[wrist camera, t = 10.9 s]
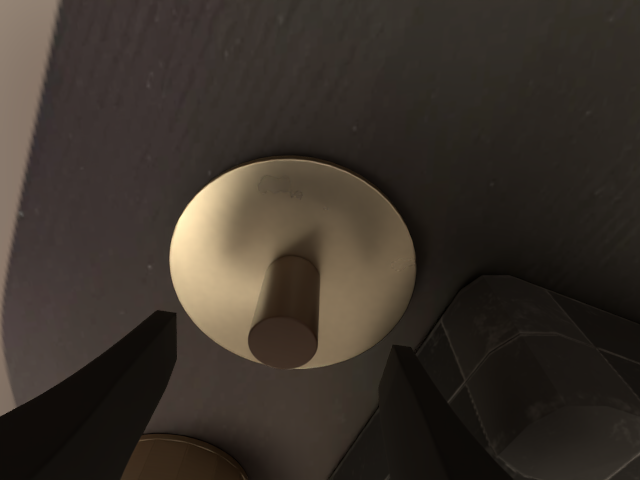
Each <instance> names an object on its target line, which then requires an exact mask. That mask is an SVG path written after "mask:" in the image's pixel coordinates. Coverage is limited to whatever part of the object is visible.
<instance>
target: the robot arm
mask: <svg viewBox="0 0 640 480" xmlns="http://www.w3.org/2000/svg"><path fill="white" fill-rule="evenodd" d="M176 360H177V329H176V313H173V312H166V311H160V310H157V311H156V312H154V313H153V314H152V315H150V316H149V317H148V318H147V319H146V320H144V321H143V322H142V323H141V324H140V325H138V326H137V327H136V328H135V329H133V330H132V331H131V332H130V333H128V334H127V335H126V336H125V337H124V338H122V339H121V340H120V341H118V342H117V343H116V344H114V345H113V346H112V347H111V348H109V349H108V350H107V351H105V352H104V353H103V354H101V355H100V356H99V357H97V358H96V359H94V360H93V361H92V362H90V363H89V364H87V365H86V366H85V367H83V368H82V369H80V370H79V371H77V372H76V373H74V374H73V375H71V376H70V377H68V378H67V379H65V380H64V381H62V382H61V383H59V384H57V385H56V386H54V387H53V388H51V389H49V390H48V391H46V392H44V393H43V394H41V395H39V396H38V397H36V398H34V399H32V400H30V401H29V402H27V403H25V404H23V405H21V406H19V407H17V408H15V409H13V410H12V411H10V412H8V413H6V414H4V415H2V416H0V480H121V477H122V475H123V472H124V470H125V468H126V466H127V463H128V461H129V459H130V457H131V455H132V453H133V451H134V449H135V447H136V445H137V443H138V441H139V440H140V438H141V436H142V434H143V432H144V430H145V428H146V426H147V424H148V422H149V420H150V418H151V416H152V415H153V413H154V411H155V409H156V407H157V405H158V403H159V401H160V399H161V397H162V395H163V393H164V391H165V389H166V387H167V384H168V381H169V379H170V376H171V374H172V371H173V368H174V365H175V363H176ZM379 411H380V422H381V428H382V434H383V440H384V446H385V452H386V458H387V464H388V470H389V476H390V480H514V479H513V478H512V477H511V476H510V475H509V474H508V473H507V472H506V471H505V470H504V469H503V468H502V467H501V466H500V465H499V464H498V463H497V462H496V461H495V460H494V459H493V458H492V457H491V455H490V454H489V453H488V452H487V451H486V450H485V449H484V448H483V446H482V445H481V444H480V443H479V442H478V441H477V440H476V439H475V437H474V436H473V435H472V434H471V433H470V431H469V430H468V429H467V428H466V426H465V425H464V424H463V423H462V421H461V420H460V419H459V417H458V416H457V415H456V414H455V412H454V411H453V409H452V408H451V407H450V405H449V404H448V403H447V401H446V400H445V398H444V397H443V395H442V394H441V393H440V391H439V390H438V388H437V387H436V385H435V384H434V382H433V381H432V379H431V378H430V376H429V375H428V373H427V372H426V370H425V368H424V367H423V365H422V364H421V362H420V361H419V359H418V358H417V356H416V354H415V353H414V351H413V350H412V348H411V347H406V346H399V345H393V346H392V349H391V352H390V355H389V358H388V361H387V364H386V367H385V370H384V373H383V376H382V378H381V381H380V384H379Z"/></svg>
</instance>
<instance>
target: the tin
mask: <svg viewBox="0 0 640 480" xmlns="http://www.w3.org/2000/svg"><path fill="white" fill-rule="evenodd" d="M121 480H248V477H247V475H246V473H245V471H244V470H243V468H242V467H241V466H240V465H239V463H238V462H237V461H236V460H234V459H233V458H232V457H231V456H230V455H228V454H227V453H225V452H224V451H222V450H220V449H219V448H217V447H215V446H213V445H210V444H208V443H206V442H203V441H200V440H197V439H194V438H190V437H186V436H180V435H172V434H147V435H142V436H141V438H140V440H139V441H138V443H137V445H136V447H135V449H134V451H133V453H132V455H131V457H130V459H129V461H128V463H127V466H126V468H125V470H124V472H123V475H122V477H121Z"/></svg>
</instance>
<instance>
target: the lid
mask: <svg viewBox="0 0 640 480" xmlns="http://www.w3.org/2000/svg"><path fill="white" fill-rule="evenodd" d="M169 264H170V274H171V278H172V282H173V286H174V289H175V292H176V294H177V296H178V299H179V301H180V303H181V304H182V306H183V308H184V310H185V311H186V313H187V314H188V315H189V317H190V318H191V319H192V321H193V322H194V323H195V324H196V325H197V326H198V327H199V328H200V330H201V331H202V332H203V333H205V334H206V335H207V336H208V337H209V338H211V339H212V340H213V341H214V342H216V343H217V344H219V345H220V346H222V347H223V348H225V349H227V350H228V351H230V352H232V353H234V354H236V355H238V356H241V357H243V358H246V359H248V360H251V361H254V362H257V363H261V364H264V365H266V366H269V367H272V368H276V369H294V368H315V367H323V366H328V365H332V364H336V363H339V362H342V361H346V360H348V359H351V358H353V357H355V356H358V355H360V354H361V353H363V352H365V351H367V350H368V349H370V348H372V347H373V346H374V345H376V344H377V343H378V342H380V341H381V340H382V339H383V338H384V337H385V336H387V335H388V334H389V333H390V332H391V331H392V329H393V328H394V327H395V326H396V325H397V323H398V322H399V321H400V319H401V318H402V316H403V314H404V313H405V311H406V309H407V307H408V305H409V302H410V300H411V298H412V294H413V291H414V287H415V281H416V271H417V268H416V254H415V250H414V245H413V241H412V239H411V236H410V233H409V231H408V228H407V226H406V223H405V222H404V220H403V218H402V216H401V215H400V213H399V211H398V210H397V208H396V207H395V206H394V205H393V203H392V202H391V201H390V199H389V198H388V197H387V196H386V195H385V194H384V193H383V192H382V191H381V190H380V189H378V188H377V187H376V186H375V185H374V184H372V183H371V182H370V181H368V180H367V179H365V178H364V177H363V176H361V175H359V174H357V173H355V172H353V171H352V170H350V169H348V168H346V167H343V166H340V165H338V164H335V163H332V162H330V161H325V160H321V159H317V158H313V157H304V156H295V155H290V156H271V157H265V158H259V159H255V160H251V161H248V162H245V163H241V164H239V165H237V166H235V167H232V168H230V169H228V170H226V171H224V172H223V173H221V174H219V175H218V176H216V177H215V178H213V179H212V180H210V181H209V182H208V183H207V184H206V185H205V186H203V187H202V188H201V189H200V190H199V191H198V192H197V193H196V195H195V196H194V197H193V198H192V199H191V201H190V202H189V203H188V204H187V205H186V207H185V209H184V210H183V212H182V214H181V215H180V217H179V219H178V221H177V224H176V226H175V229H174V231H173V235H172V239H171V244H170V254H169Z"/></svg>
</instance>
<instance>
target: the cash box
mask: <svg viewBox="0 0 640 480" xmlns="http://www.w3.org/2000/svg"><path fill="white" fill-rule="evenodd" d="M416 356H417V358H418V359H419V361H420V362H421V364H422V365H423V367H424V368H425V370H426V372H427V373H428V375H429V376H430V378H431V379H432V381H433V382H434V384H435V385H436V387H437V388H438V390H439V391H440V393H441V394H442V395H443V397H444V398H445V400H446V401H447V403H448V404H449V405H450V407H451V408H452V409H453V411H454V412H455V414H456V415H457V416H458V417H459V419H460V420H461V421H462V423H463V424H464V425H465V426H466V428H467V429H468V430H469V431H470V433H471V434H472V435H473V436H474V437H475V439H476V440H477V441H478V442H479V443H480V444H481V445H482V446H483V448H484V449H485V450H486V451H487V452H488V453H489V454H490V455H491V457H492V458H493V459H494V460H495V461H496V462H497V463H498V464H499V465H500V466H501V467H502V468H503V469H504V470H505V471H506V472H507V473H508V474H509V475H510V476H511V477H512V478H513V479H514V480H640V324H638V323H635V322H632V321H630V320H627V319H625V318H622V317H619V316H617V315H614V314H611V313H609V312H606V311H603V310H601V309H598V308H595V307H593V306H590V305H588V304H585V303H582V302H580V301H577V300H574V299H572V298H569V297H566V296H564V295H561V294H558V293H556V292H553V291H551V290H548V289H545V288H543V287H540V286H537V285H534V284H532V283H529V282H526V281H524V280H521V279H518V278H516V277H513V276H511V275H481V276H480V277H478V278H477V279H476V280H474V281H473V282H471V283H470V284H468V285H467V286H466V287H464V288H463V289H461V290H460V291H459V293H458V294H457V295H456V297H455V298H454V300H453V301H452V303H451V304H450V305H449V307H448V308H447V310H446V311H445V313H444V314H443V316H442V317H441V318H440V320H439V321H438V323H437V324H436V325H435V327H434V328H433V330H432V331H431V333H430V334H429V336H428V337H427V338H426V340H425V341H424V343H423V344H422V346H421V347H420V349H419V350H418V351H417V353H416ZM329 480H390V476H389V470H388V464H387V458H386V452H385V446H384V440H383V434H382V428H381V422H380V411H379V408H378V409H377V411H376V412H375V414H374V415H373V416H372V418H371V419H370V421H369V422H368V424H367V425H366V427H365V428H364V429H363V431H362V432H361V434H360V435H359V437H358V438H357V439H356V441H355V442H354V444H353V445H352V447H351V448H350V450H349V451H348V452H347V454H346V455H345V457H344V458H343V460H342V461H341V463H340V464H339V465H338V467H337V468H336V470H335V471H334V473H333V474H332V476H331V477H330V479H329Z"/></svg>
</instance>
